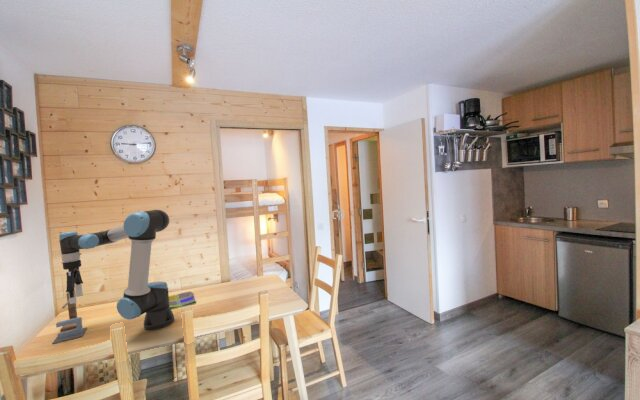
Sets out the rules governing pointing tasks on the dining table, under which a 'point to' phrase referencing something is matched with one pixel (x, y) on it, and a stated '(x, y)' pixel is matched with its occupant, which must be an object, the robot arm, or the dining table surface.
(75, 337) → the mat
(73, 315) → the stand
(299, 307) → the dining table surface
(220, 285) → the dining table surface
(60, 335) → the c link
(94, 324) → the dining table surface
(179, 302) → the green and purple book
